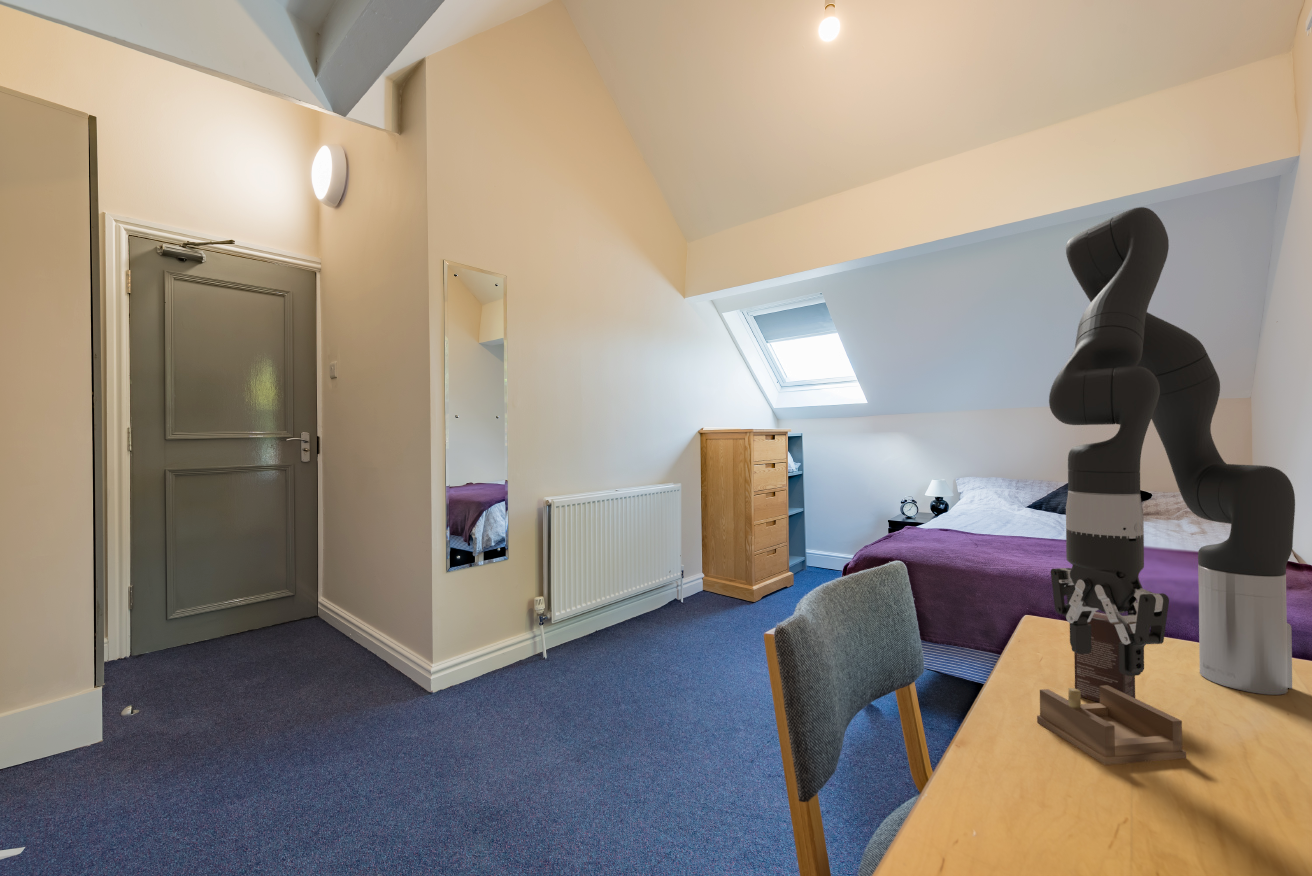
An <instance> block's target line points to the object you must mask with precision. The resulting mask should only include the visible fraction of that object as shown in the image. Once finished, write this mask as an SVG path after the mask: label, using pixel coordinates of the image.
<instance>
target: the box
mask: <svg viewBox="0 0 1312 876" xmlns="http://www.w3.org/2000/svg"><path fill="white" fill-rule="evenodd" d="M1087 624H1090V625H1091V642H1092V650H1091V652H1090V653H1089V654H1078V653H1075V652H1073V653H1074V656H1073V657H1074V688H1075V689H1078V690H1080V691H1081V698H1085V699H1088V700H1091V701H1093V702H1096V703H1100V686H1104V685H1108V686H1110V687H1112V688H1114V689H1117V690H1119V691H1121V692H1123V693H1125V694H1127V695H1129V696H1131V697H1133V698H1135V699H1136V676H1127V675H1124V674H1122V673H1120V671H1119V643H1122V642H1121V640H1120V637H1119V635H1118V632H1117V630H1116V627H1115V625H1113V624H1112V623H1110V621H1109V619H1108V617H1107V614H1106V613H1105V612H1099V611H1095V613H1094V615H1093V617H1092V619H1091V621H1090V622H1087ZM1127 626H1128V628H1129V631H1130V633H1133V632H1132V630H1131V627H1130V625H1129V624H1128V623H1127Z"/></svg>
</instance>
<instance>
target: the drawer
mask: <svg viewBox="0 0 1312 876" xmlns="http://www.w3.org/2000/svg"><path fill="white" fill-rule="evenodd" d="M1067 691H1068V696H1067V697H1068V699H1067V698H1065V697H1064V696H1062V695H1060V694H1058V693H1056V692H1054V691H1052V690H1050V689H1049V688H1043V689H1039V715H1036V722H1037V724H1039V725H1041V726H1043V727H1044V728H1046V729H1047V730H1049V731H1050V732H1052V733H1054V734H1055V735H1057V736H1058V737H1059V738H1061V739H1063V740H1065V741H1066V742H1067V743H1069V744H1071V745H1072V746H1074V747H1075V748H1077V749H1079V750H1081V751H1083V752H1084V753H1085V754H1087V755H1089V756H1090V757H1092V758H1093V759H1095V760H1097V761H1098V762H1099V763H1101V764H1103V765H1104V766H1108V765H1119V764H1120V765H1121V764H1132V763H1134V764H1135V763H1145V762H1155V761H1170V760H1181V759H1187V751H1186V750H1184V749H1183V721H1182V719H1179V718H1177V717H1175V716H1174V715H1171V714H1169V713H1167V712H1164V711H1162V710H1160V709H1158V708H1156V707H1154V706H1152V705H1150V704H1148V703H1145V702H1144V701H1141V700H1139V699H1138V698H1136V697H1135V698H1133V697H1131V696H1129V695H1127V694H1125V693H1123V692H1121V691H1119V690H1117V689H1114V688H1112V687H1110V686H1108V685H1104V686H1100V702H1095V703H1094V702H1093V703H1082V704H1081V702H1082V701H1081V698H1082V697H1081V691H1080V690H1078V689H1075V687H1069V688H1068V689H1067Z"/></svg>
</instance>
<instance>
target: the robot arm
mask: <svg viewBox="0 0 1312 876" xmlns="http://www.w3.org/2000/svg"><path fill="white" fill-rule="evenodd" d="M1169 240H1170V239H1169V236H1168V232H1167V230H1166V227H1165V224H1164V223H1163V221H1162V220H1161V218H1160V217H1159V216H1158V214H1156V212H1155V211H1154V210H1152V209H1150V208H1148V207H1144V206H1140V207H1134V208H1132V209H1128V210H1126V211H1123V212H1121V213H1119V214H1117V215H1115V216H1112V217H1111V218H1108V219H1106V220H1104V221H1102V222H1101V223H1100V222H1099V223H1098V224H1096V225H1094V226H1092V227H1090V228H1087V229H1085V230H1083V231H1082V232H1079V233H1077V234H1076V235H1074V236H1072V237H1071V238H1069V239H1068V241H1067V242H1066V246H1065V255H1066V259H1067V263H1068V265H1069V267H1070V270H1071V271H1072V273H1073V275H1074V277H1075V279H1076V280H1077V282H1078V284H1079V285H1080V287H1081V289H1082V290H1083V293H1085V296H1087V298H1088V300H1089V302H1090V303H1089V304H1088V306H1087V307H1086V309H1085V310H1084V312H1083V313H1082V316H1081V318H1080V320H1079V323H1078V327H1077V331H1076V333H1077V334H1076V339H1075V345H1074V348H1073V349H1074V350H1073V352H1072V353H1071V355H1070V357H1069V358H1068V360H1067V361H1066V362H1065V364H1064V365H1063V367H1062V368H1061V370H1060V371H1059V372H1058V374H1057V376H1056V377H1055V379H1054V380H1053V383H1052V385H1051V386H1050V387H1051V388H1050V391H1049V395H1048V404H1049V405H1048V406H1049V409H1050V411H1051V413H1052V415H1053V416H1054V418H1056V420H1058V421H1059V422H1061V423H1063V424H1065V425H1070V426H1090V425H1091V426H1095V425H1097V426H1099V425H1102V426H1103V425H1109V426H1110V425H1118V426H1119V428H1118V431H1117V433H1116V434H1115V435H1114V436H1113V437H1111V438H1109V439H1106V440H1103V441H1098V442H1091V443H1086V444H1081V445H1076V446H1074V447H1072V448H1071V449H1070V450H1069V452H1068V455H1067V490H1068V491H1067V499H1066V505H1065V542H1066V543H1065V544H1066V545H1065V546H1066V547H1065V548H1066V549H1065V550H1066V555H1065V556H1066V557H1065V558H1066V560H1067V562H1068V563H1069V564H1070V565H1072V566H1071V567H1060V568H1057V567H1056V568H1052V569H1050V578H1051V587H1052V595H1053V604H1054V611H1055V613H1057V614H1058V615H1063V616H1064V617H1065V618H1066V621H1067V622H1068V623H1069V644H1070V647H1071V651H1072V652H1073V653H1074V652H1075V653H1078V654H1089V653H1090V652H1091V650H1092V642H1091V625H1090V624H1087V622H1090V621H1091V619H1092V617H1093V615H1094V613H1095V612H1098V611H1101V612H1102V613H1104V614H1107V617H1108V619H1109V621H1110V623H1112V624H1113V625H1115V627H1116V630H1117V632H1118V635H1119V637H1120V640H1121V642H1122V643H1119V671H1120V673H1122V674H1124V675H1127V676H1135V677H1136V676H1140V675H1141V674H1142V673H1143V671H1144V669H1145V646H1146V645H1161V644H1163V643H1164V640H1165V633H1166V628H1167V627H1166V626H1167V621H1168V620H1167V619H1168V612H1169V611H1168V610H1169V604H1170V598H1169V596H1168V595H1167V594H1166V593H1163V592H1162V593H1157V592H1155V593H1154V592H1151V591H1149V590H1148V589H1145V588H1143V586H1142V584H1141V581H1140V577H1139V576H1140V573H1141V572H1142V570H1143V569H1144V568H1145V546H1144V545H1145V536H1144V535H1145V533H1144V529H1145V526H1144V523H1145V522H1144V509H1143V504H1142V498H1141V457H1142V451H1143V444H1144V442H1145V437H1146V434H1147V432H1148V428H1149V425H1150V423H1151V421H1152V423H1153V426H1154V428H1155V430H1156V432H1157V435H1158V436H1159V439H1160V441H1161V444H1162V445H1163V448H1164V450H1165V452H1166V455H1167V459H1168V461H1169V464H1170V468H1171V471H1172V474H1173V476H1174V479H1175V482H1176V485H1177V488H1178V490H1179V492H1180V495H1181V498H1182V500H1183V502H1184V504H1185V505H1186V507H1187V508H1188V510H1190V511H1191V512H1192V513H1193V514H1194V515H1195V516H1197V517H1199V518H1201V519H1203V520H1206V521H1210V522H1215V523H1216V522H1217V523H1222V524H1223V523H1224V524H1231V525H1230V531H1229V537H1228V538H1227V539H1226V540H1224V541H1222V542H1219V543H1216V544H1215V543H1214V544H1208V545H1207V544H1206V545H1204V546H1201V547H1200V548H1199V549H1198V552H1197V565H1198V566H1197V568H1198V569H1197V571H1198V572H1197V573H1198V575H1197V576H1198V581H1197V582H1198V626H1199V627H1198V632H1199V633H1198V636H1199V637H1198V639H1199V645H1198V646H1199V647H1198V648H1199V653H1198V654H1199V656H1198V657H1199V674H1200V675H1201V676H1202V677H1203V678H1205V679H1206V680H1208V681H1210V682H1213V683H1215V684H1218V685H1220V686H1224V687H1227V688H1230V689H1234V690H1237V691H1238V690H1239V691H1241V692H1242V691H1243V692H1247V693H1253V694H1260V695H1268V696H1269V695H1273V696H1276V695H1277V696H1280V695H1285V694H1287V692H1288V691H1289V689H1293V650H1292V647H1293V645H1292V644H1293V643H1292V639H1293V638H1292V626H1291V624H1290V623H1288V622H1287V620H1288V619H1287V618H1288V615H1287V612H1288V611H1287V610H1288V607H1287V575H1286V574H1287V564H1288V561H1289V559H1290V557H1291V556H1292V552H1293V546H1294V545H1293V544H1294V527H1295V515H1296V514H1295V513H1296V497H1295V496H1296V494H1295V491H1294V487H1293V483H1292V482H1291V480H1290V478H1289V477H1288V475H1287V474H1286V473H1285V472H1283V471H1282V470H1281V469H1278V468H1276V467H1274V466H1268V465H1257V464H1238V463H1237V464H1234V463H1233V464H1231V463H1226V462H1225V461H1224V459H1223V458H1222V456H1221V455H1220V452H1219V450H1218V448H1217V445H1216V444H1215V442H1214V439H1213V436H1212V431H1211V430H1212V429H1211V427H1212V420H1213V417H1214V414H1215V412H1216V409H1217V405H1218V400H1219V398H1220V394H1221V380H1220V378H1219V375H1218V372H1217V370H1216V368H1215V366H1214V364H1213V362H1212V359H1211V358H1210V356H1209V354H1208V352H1207V349H1206V348H1205V346H1204V345H1203V343H1202V342H1201V341H1200V339H1198V338H1197V337H1195V336H1194V335H1193V334H1191V333H1190V332H1188V331H1186V330H1184V329H1183V328H1181V327H1179V326H1177V325H1174V324H1172V323H1170V322H1168V321H1167V320H1164V319H1161V318H1159V317H1158V316H1156V315H1153V314H1152V313H1149V312H1148V308H1149V304H1150V302H1151V300H1152V297H1153V296H1154V292H1155V290H1156V288H1157V285H1158V282H1159V280H1160V278H1161V275H1162V272H1163V269H1164V267H1165V264H1166V261H1167V258H1168V255H1169V250H1170V249H1169V246H1170V245H1169V243H1170V242H1169ZM1065 597H1066V600H1067V604H1066V603H1065ZM1126 612H1127V615H1122V614H1124V613H1126ZM1127 623H1128V624H1129V625H1130V627H1131V630H1132V632H1133V633H1130V631H1129V628H1128V626H1127ZM1288 688H1289V689H1288Z"/></svg>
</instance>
